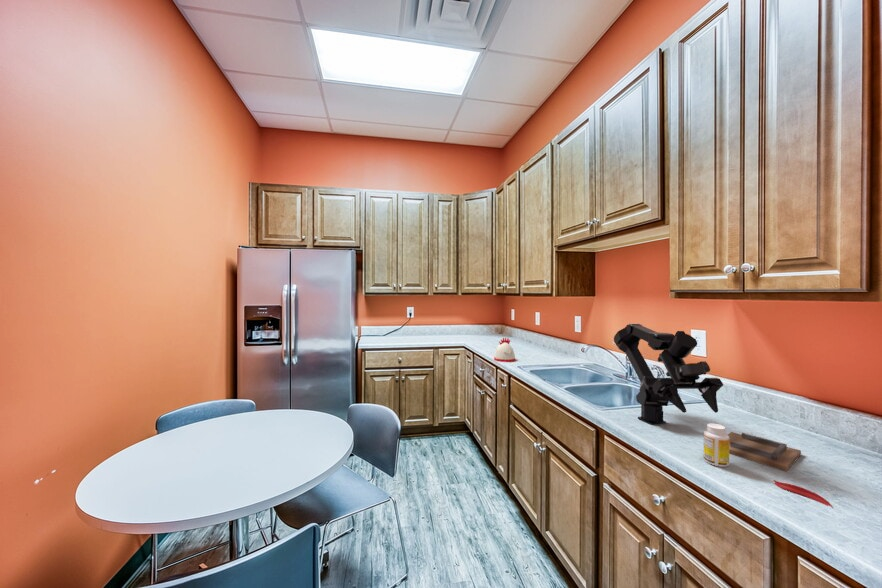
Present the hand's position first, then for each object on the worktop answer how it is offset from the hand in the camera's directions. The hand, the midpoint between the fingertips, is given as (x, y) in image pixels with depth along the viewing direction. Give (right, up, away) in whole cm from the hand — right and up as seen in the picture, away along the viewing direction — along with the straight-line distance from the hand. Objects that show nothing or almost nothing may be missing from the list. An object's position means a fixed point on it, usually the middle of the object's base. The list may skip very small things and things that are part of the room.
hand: (700, 412), depth 102 cm
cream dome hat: (-33, -10, +133) cm, 137 cm away
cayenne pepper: (+8, -13, -20) cm, 25 cm away
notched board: (+17, -12, +1) cm, 21 cm away
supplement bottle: (0, -12, -6) cm, 14 cm away
